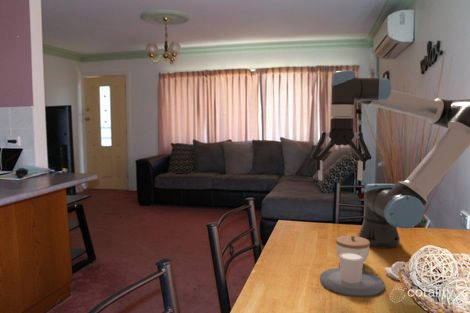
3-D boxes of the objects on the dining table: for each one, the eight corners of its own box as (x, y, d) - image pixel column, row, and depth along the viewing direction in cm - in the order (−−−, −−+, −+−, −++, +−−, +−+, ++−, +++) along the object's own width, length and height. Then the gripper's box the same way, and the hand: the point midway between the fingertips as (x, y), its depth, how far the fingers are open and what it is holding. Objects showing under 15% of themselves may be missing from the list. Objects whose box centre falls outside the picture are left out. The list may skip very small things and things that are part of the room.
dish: (371, 271, 125) (371, 267, 124) (394, 296, 107) (395, 293, 107) (314, 270, 124) (314, 267, 124) (328, 296, 106) (328, 292, 106)
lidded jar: (364, 271, 124) (365, 242, 123) (330, 264, 130) (331, 236, 129) (372, 261, 133) (373, 234, 132) (340, 255, 139) (341, 229, 138)
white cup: (364, 285, 111) (365, 261, 111) (339, 283, 113) (340, 259, 112) (361, 275, 118) (362, 252, 117) (337, 273, 119) (338, 251, 119)
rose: (420, 260, 123) (421, 271, 114) (419, 273, 123) (421, 285, 115) (385, 255, 127) (384, 265, 118) (385, 269, 127) (384, 280, 118)
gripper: (374, 118, 138) (372, 178, 140) (303, 117, 137) (301, 178, 139) (383, 118, 130) (380, 181, 132) (307, 117, 130) (305, 181, 132)
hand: (339, 180), depth 136 cm, fingers open, 13 cm apart
